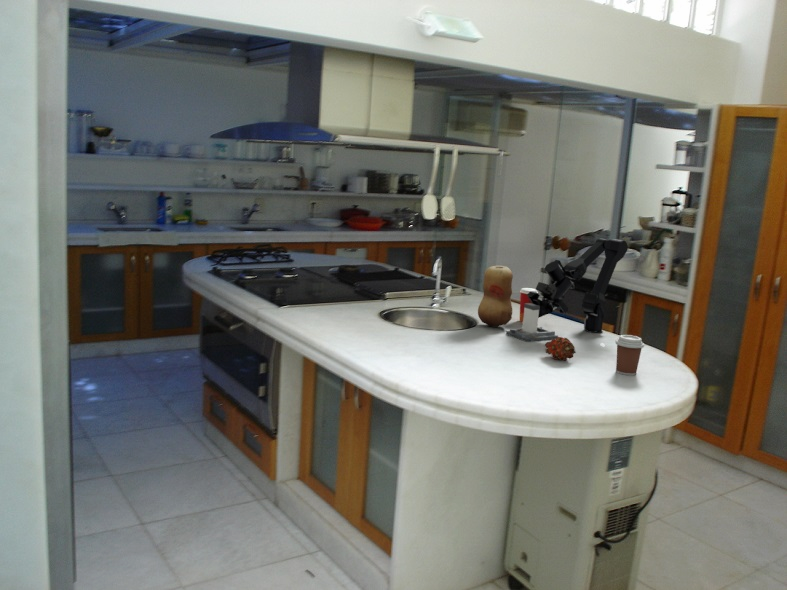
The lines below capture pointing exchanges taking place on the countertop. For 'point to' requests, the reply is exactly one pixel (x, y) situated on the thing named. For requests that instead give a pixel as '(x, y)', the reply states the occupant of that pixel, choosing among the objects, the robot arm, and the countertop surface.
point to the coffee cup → (628, 354)
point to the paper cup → (524, 300)
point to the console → (532, 335)
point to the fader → (530, 318)
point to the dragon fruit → (560, 348)
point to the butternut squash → (496, 296)
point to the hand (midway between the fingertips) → (534, 318)
